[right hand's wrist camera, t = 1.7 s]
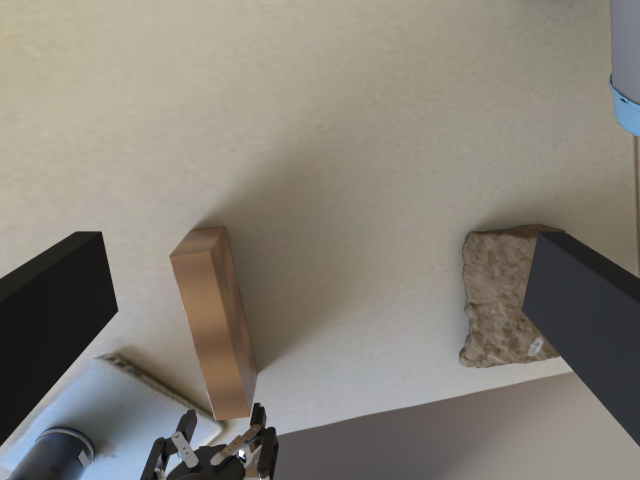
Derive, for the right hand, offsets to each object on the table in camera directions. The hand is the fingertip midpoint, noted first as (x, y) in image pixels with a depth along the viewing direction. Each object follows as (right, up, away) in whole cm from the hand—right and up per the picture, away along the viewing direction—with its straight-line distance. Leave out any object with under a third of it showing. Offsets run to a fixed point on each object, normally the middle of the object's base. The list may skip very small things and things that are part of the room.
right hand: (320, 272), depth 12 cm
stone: (+26, -6, +46) cm, 54 cm away
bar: (-14, -9, +46) cm, 49 cm away
